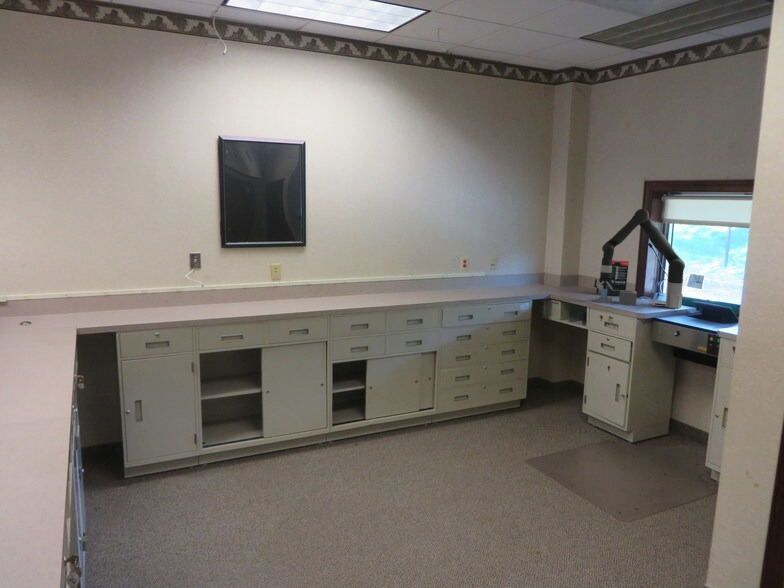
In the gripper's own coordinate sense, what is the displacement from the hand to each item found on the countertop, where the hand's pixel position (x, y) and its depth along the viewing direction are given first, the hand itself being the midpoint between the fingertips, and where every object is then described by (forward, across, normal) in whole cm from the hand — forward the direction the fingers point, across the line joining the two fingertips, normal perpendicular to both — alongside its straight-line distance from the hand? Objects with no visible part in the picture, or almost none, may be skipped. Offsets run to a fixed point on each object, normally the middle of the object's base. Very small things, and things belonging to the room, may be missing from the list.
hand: (604, 293), depth 411 cm
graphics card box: (+6, -6, -35) cm, 36 cm away
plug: (+6, 0, 0) cm, 6 cm away
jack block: (+6, -8, 0) cm, 10 cm away
